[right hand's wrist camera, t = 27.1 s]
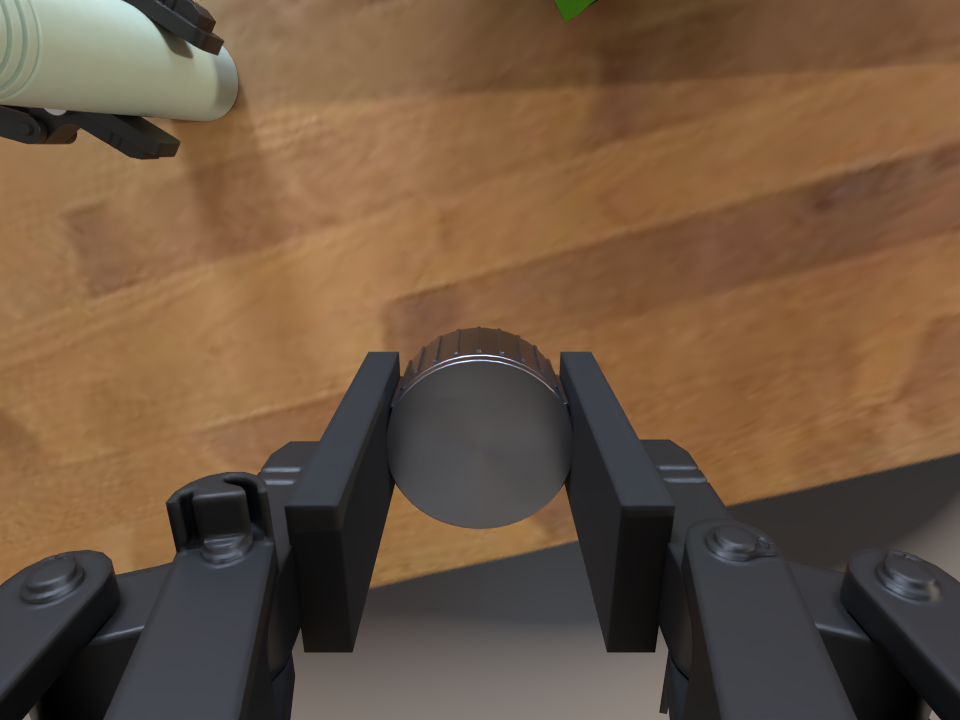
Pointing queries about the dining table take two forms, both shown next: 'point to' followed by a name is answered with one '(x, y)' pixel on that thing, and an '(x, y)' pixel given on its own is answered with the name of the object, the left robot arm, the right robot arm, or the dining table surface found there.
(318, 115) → the dining table surface
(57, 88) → the bottle
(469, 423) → the cap
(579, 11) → the toy car
